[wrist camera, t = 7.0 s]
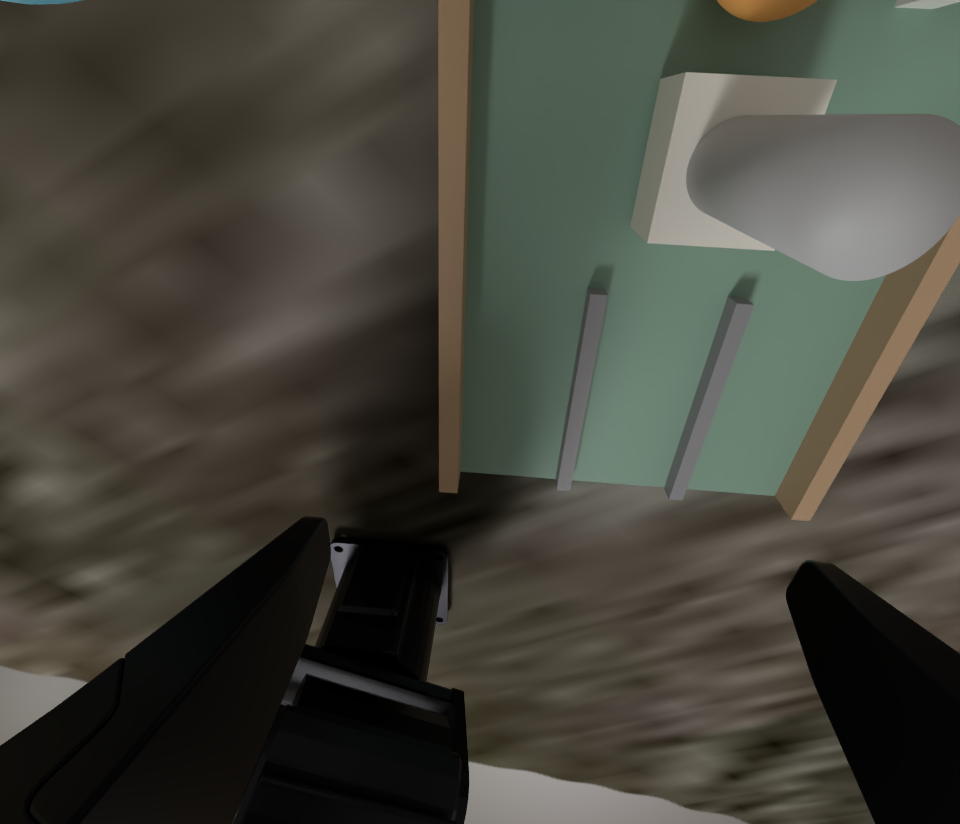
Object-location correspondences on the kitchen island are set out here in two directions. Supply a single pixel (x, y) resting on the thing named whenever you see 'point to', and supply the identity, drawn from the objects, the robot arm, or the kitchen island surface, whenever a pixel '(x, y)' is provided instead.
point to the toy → (42, 1)
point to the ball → (764, 8)
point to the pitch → (656, 252)
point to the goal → (924, 3)
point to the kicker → (795, 175)
